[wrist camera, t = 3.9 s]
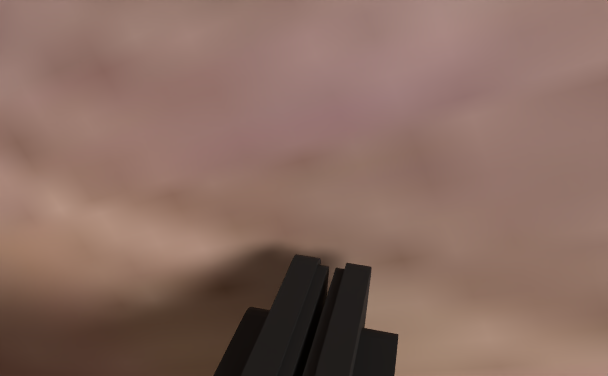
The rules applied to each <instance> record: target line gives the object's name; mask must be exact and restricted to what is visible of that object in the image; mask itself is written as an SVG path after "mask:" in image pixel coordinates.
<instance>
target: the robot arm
mask: <svg viewBox="0 0 608 376" xmlns="http://www.w3.org/2000/svg"><path fill="white" fill-rule="evenodd" d="M328 275H329V267H328V266H323V265H321V260H320V258H315V257H309V256H303V255H297V254H296V255H295V256H294V258H293V260H292V262H291V265H290V267H289V269H288V271H287V273H286V276H285V278H284V280H283V282H282V285H281V287H280V289H279V291H278V294H277V296H276V298H275V300H274V303H273V305H272V307H271V309H270V310H264V309H259V308H254V307H250V308H248V310H247V311H246V313H245V315H244V316H243V318H242V320H241V322H240V324H239V326H238V328H237V330H236V332H235V334H234V336H233V338H232V340H231V342H230V344H229V346H228V348H227V350H226V352H225V354H224V356H223V358H222V360H221V362H220V364H219V366H218V368H217V370H216V372H215V374H214V376H394V374H395V364H396V354H397V344H398V334H393V333H388V332H383V331H377V330H372V329H367V328H364V326H365V318H366V310H367V302H368V294H369V286H370V278H371V267H369V266H363V265H357V264H351V263H346V266H345V269H340V268H336V269H335V272H334V275H333V278H332V282H331V285H330V288H329V291H328V295H327V287H328Z"/></svg>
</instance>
